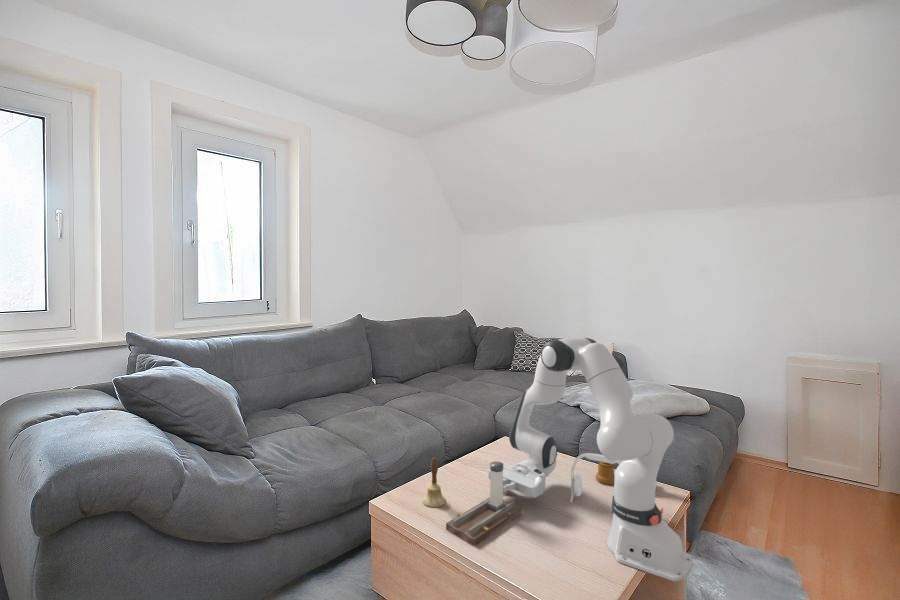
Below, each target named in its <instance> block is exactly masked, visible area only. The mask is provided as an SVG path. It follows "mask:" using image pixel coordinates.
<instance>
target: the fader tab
mask: <svg viewBox="0 0 900 600" xmlns="http://www.w3.org/2000/svg"><path fill="white" fill-rule="evenodd" d="M503 465H504V463H503V462H502V461H495V460H494V461H492V462H490V464H489V466H490V467H489V469H490V479H489V481H490V485H489V487H490V488H489V490H490V492H489V495H490V497H489V498H490V502H488V503H487V507H489V508H491V509H493V510H495V511H498V510H500V509H501V508H503V507H505V506H506V504H505V503H503V500H504V495H503Z"/></svg>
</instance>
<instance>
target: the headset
mask: <svg viewBox="0 0 900 600" xmlns="http://www.w3.org/2000/svg"><path fill="white" fill-rule="evenodd" d="M582 458H586V459H587V460H591V461H597V462H606V463H610V464H613V465H614V464H618V466H619V465H620V463H621V462H622V461H611V460H609V459H607V458H606V457H605V456H604V455H603V454H599V453H594V452H587V453H585V452H584V453H582V454H580V455H578V456H577V457H576V459H575V460H574V461H573V464H572V467H571V470H570V487H571V489H570V490H571V498H570V503H571V504H572V503H573V500H574V495H575V497H581V495H582V489H583V479H582V476H581V474H578V473H577V474H574V473H575V472H574V471H575V469H576V466H577V463H578V461H580V460H581V459H582Z"/></svg>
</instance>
